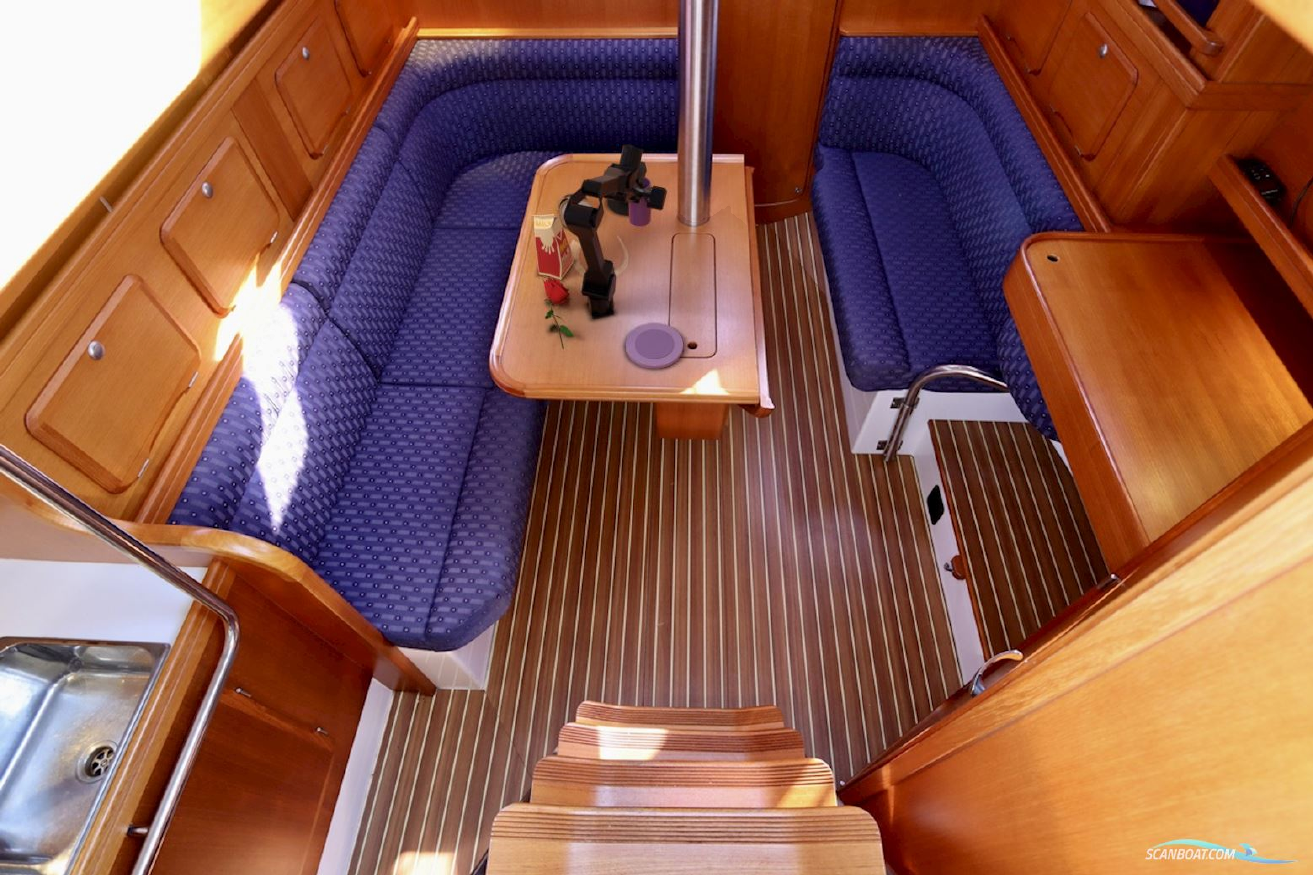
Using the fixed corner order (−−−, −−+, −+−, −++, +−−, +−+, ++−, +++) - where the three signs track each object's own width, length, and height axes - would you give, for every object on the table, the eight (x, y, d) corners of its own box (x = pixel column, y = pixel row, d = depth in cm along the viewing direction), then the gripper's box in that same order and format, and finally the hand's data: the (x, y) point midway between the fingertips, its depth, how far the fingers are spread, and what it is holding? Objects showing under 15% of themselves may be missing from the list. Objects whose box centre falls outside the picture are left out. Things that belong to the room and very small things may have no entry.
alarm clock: (564, 225, 206) (552, 191, 211) (565, 236, 210) (553, 202, 216) (598, 218, 208) (585, 184, 213) (598, 229, 212) (585, 195, 218)
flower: (571, 328, 170) (553, 260, 188) (542, 346, 172) (527, 278, 190) (589, 347, 177) (571, 280, 195) (561, 364, 179) (546, 297, 197)
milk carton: (574, 261, 201) (567, 206, 184) (562, 280, 196) (553, 225, 180) (547, 254, 203) (537, 199, 186) (534, 273, 198) (524, 218, 181)
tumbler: (633, 228, 201) (632, 192, 190) (626, 215, 205) (624, 178, 194) (653, 224, 202) (653, 187, 192) (646, 211, 206) (646, 174, 195)
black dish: (601, 210, 215) (600, 196, 210) (615, 184, 223) (615, 170, 218) (644, 219, 212) (644, 205, 208) (657, 192, 220) (657, 178, 216)
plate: (636, 375, 176) (636, 371, 174) (618, 334, 184) (618, 330, 183) (691, 360, 179) (691, 356, 178) (671, 320, 187) (671, 316, 186)
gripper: (665, 164, 181) (676, 177, 196) (603, 152, 184) (618, 165, 199) (656, 205, 183) (667, 215, 198) (595, 192, 186) (610, 203, 201)
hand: (641, 198), depth 199 cm, fingers closed on tumbler, 7 cm apart
